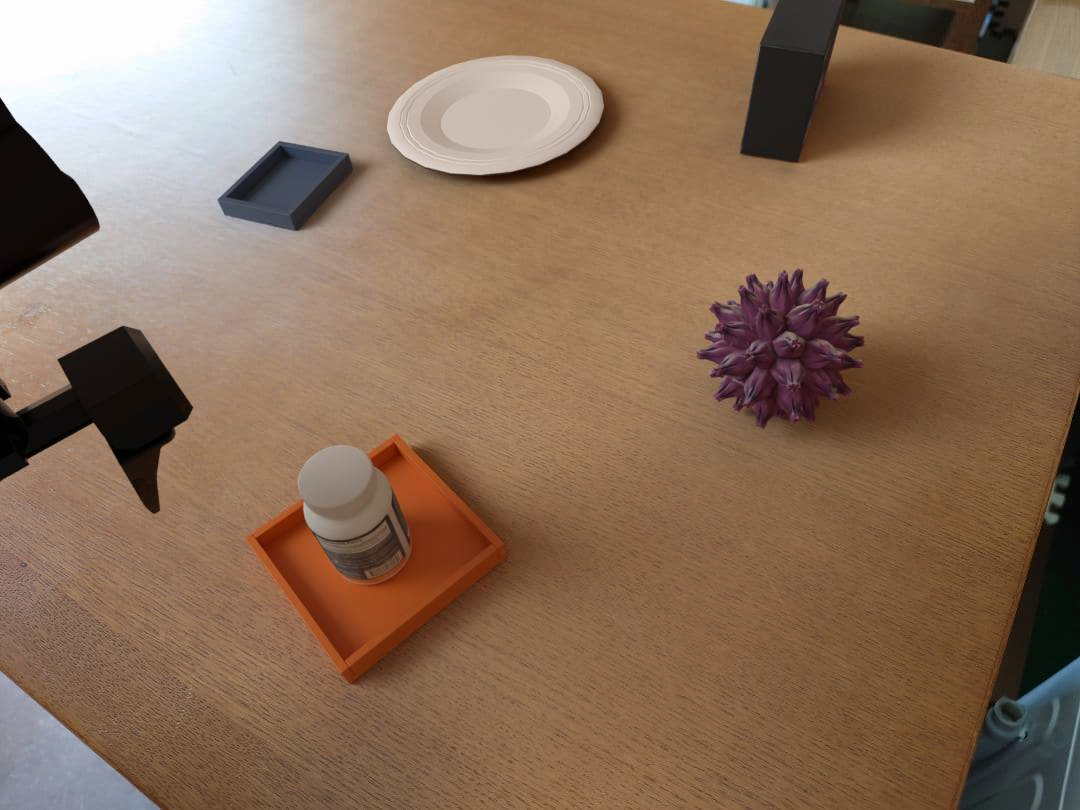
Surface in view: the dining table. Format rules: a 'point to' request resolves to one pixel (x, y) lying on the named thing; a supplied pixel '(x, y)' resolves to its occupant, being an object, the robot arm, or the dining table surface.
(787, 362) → the flower
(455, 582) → the orange tray
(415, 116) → the plate
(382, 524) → the pill bottle
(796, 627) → the dining table surface
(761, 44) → the box
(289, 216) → the blue tray
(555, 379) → the dining table surface
